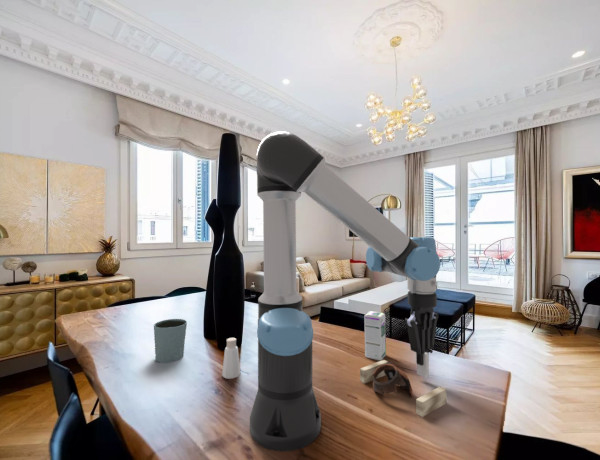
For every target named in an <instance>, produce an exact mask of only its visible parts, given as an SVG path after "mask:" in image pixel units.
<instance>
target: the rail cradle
mask: <svg viewBox="0 0 600 460" xmlns="http://www.w3.org/2000/svg"><path fill="white" fill-rule="evenodd" d="M388 362H389V361H388V360H385V359H382V360H381V361H380V360H378V361H377V362H373V363H371V364H369V365H366V366H363V367H360V369H359V378H360V379H359V381H360V383H362V384H366V383H369V382H373V381H372V379H373V378H374V376H373V372H374V371H375V370H376V369H377V368H378V367H379V366H381V365H383V364H386V363H388ZM384 376H386V375H385V373H384V370H383V371H382V372H380V373H379V374H378V376H377V377H376V380H377V379H380V378H382V377H384ZM415 404H416V405H415V406H416V407H415V409H416V410H415V413H416V415H418V416H419V417H421V418H424V417H425V416H427V415H429V414H430V413H432V412H434V411H436V410H437V409H440V408H441V407H442V406H445V405H446V404H447V388H445V387H443V386H442V385H439V386H438V387H437V388H434V389H432V390H430V391H429V392H427V393H425V394H424V395H421V396H420V397H418V398H416V399H415Z"/></svg>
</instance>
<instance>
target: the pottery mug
mask: <svg viewBox="0 0 600 460" xmlns="http://www.w3.org/2000/svg"><path fill="white" fill-rule="evenodd" d="M383 370H384V373H385V376H386V377H387V380H388V381H386V382H379V381H377V379H376V377H377V376H378V374H379V373H380V372H382V371H383ZM373 376H374V378H373V379H372V381H371V382H372V389H373V392H374V393H378V394H381V395H384V394H385V395H388V394H391V393H394V394H396V395H398V391H397V386H399V388H401V389H404V390H407V391H409V393H410V398H412V399H413V398H414V391H413V387H412V385H411V381H410V380H409V378H408V375H406V373H405V372H404V370H401V369H400V368H398V367H397V366H396V365H395V364H394V363H393V362H391V361H388V363H386V364H383V365H381V366H379V367H378V368H377V369H376V370H375V371H374V372H373Z"/></svg>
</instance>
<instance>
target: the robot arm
mask: <svg viewBox="0 0 600 460" xmlns="http://www.w3.org/2000/svg"><path fill="white" fill-rule="evenodd" d="M256 180H257V181H256V187H257V188H256V192H257V193H256V194H257V195H256V196H258V197H259V199H260V200H262V208H263V209H262V213H263V214H262V215H263V217H262V218H263V220H262V221H263V222H262V223H263V229H262V230H263V231H262V232H263V292H262V294H261V295H260V296H259V297H258V299H257V303H258V304H257V307H258V308H257V309H258V310H257V313H258V314H257V315H258V316H257V318H258V319H257V329H256V330H257V331H256V333H257V335H256V336H257V380H258V381H257V384H258V385H257V393H256V394H255V398H254V401H253V406H252V409H251V412H250V415H249V434H250V436H251V438H252V440H254V442H255V443H257V445H259V446H261V447H262V448H263V449H264V448H265V449H268V450H270V451H275V452H292V451H297V450H300V449H304V448H305V447H308V446H309V445H311V444H312V443H313V442H314V441H316V440H317V438H318V436H319V435H320V432H321V428H322V420H321V419H322V418H321V417H322V415H321V411H320V408H319V405H318V401H317V399H316V394H315V391H314V388H313V338H314V328H313V323H312V319H311V317H310V315H309V314H307V313H306V312H305V311H303V296H302V295H301V294H300V293H299V292H298V291H297V232H296V231H297V230H296V229H297V224H296V221H297V218H296V217H297V216H296V215H297V211H296V209H297V208H296V204H297V203H296V202H297V200H298V199H299V198H300V197H301V196H302V193H305V194H306V195H307V196H308V197H310V198H311V200H313V201H314V202H316V204H318V205H319V206H320V207H321V208H323V209H324V210H325V211H326V212H327V213H329V214H330V215H331V216H333V217H334V219H336V220H337V221H338V222H339V223H341V224H342V225H343V226H344V227H346V229H348V230H349V231H350V232H352V233H353V235H355V236H356V237H358V238H359V239H360V240H361V241H362V242H363V243H364V244H366V245H367V246H368V248H367V249H366V253H365V263H366V266H367V269H368V270H369V271H371V272H379V273H382V272H383V273H384V272H385V273H386V272H387V273H391V274H395V275H398V276H402V277H405V278H407V289H408V292H407V303H408V305H409V306H410V307H411V309H410V312H409V313H410V317H409V318H407V317H405V318H404V324H405V325H406V329H407V335H408V340H409V347H410V351H412V352H414V353H415V356H416V357H415V358H416V360H415V362H416V375H418V376H420V377H422V378H425V379H427V378H429V375H430V372H429V367H430V365H429V364H430V363H429V362H430V361H429V359H430V358H429V356H430V354H433V351H434V350H433V349H434V347H435V342H436V341H435V340H436V332H437V322H438V320H439V313H437V312H435V311H434V308H436V307H437V304H438V303H437V302H438V301H437V300H438V299H437V298H438V297H437V293H436V291H437V285H438V282H437V275H438V273H439V271H440V270H441V259H440V257H439V254H438V252H437V244H436V239H435V238H434V237H427V236H421V237H419V236H417V237H416V236H415V237H414V236H413V237H411V236H408V235H407V234H406V233H405V232H404V231H402V230H401V229H400V228H399V227H398V226H397V225H395V224H394V223H393V222H392V221H391V220H389V218H387V217H386V216H385V215H384V214H383V213H381V212H380V211H379V210H378V209H377V208H375V206H373V205H372V204H371V203H370V202H369V201H368V200H366V198H364V197H363V196H362V195H360V193H358V192H357V191H356V190H355V189H354V188H353V187H352V186H350V185H349V184H348V183H347V182H346V181H345V180H344V179H342V178H341V177H340V176H339V175H337V174H336V173H335V172H334V171H333V170H332V169H331V168H330V167H328V166H327V164H326V159H325V156H323V155H322V154H321V153H319V152H318V151H317V150H316V149H315V148H314V147H312V146H311V145H310V144H309V143H308V142H307V141H305V140H304V139H303V138H301V137H299V136H298V135H296V134H294V133H291V132H288V131H275V132H273V133H269V134H268V135H267V136H265V137H264V138H263V139H262V140H261V142H260V143H259V146H258V148H257V151H256ZM429 353H430V354H429Z"/></svg>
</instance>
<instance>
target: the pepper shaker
mask: <svg viewBox="0 0 600 460" xmlns="http://www.w3.org/2000/svg"><path fill="white" fill-rule="evenodd" d="M221 375H222V376H221V377H223V378H225V379H235V378H238V377H240V375H241V364H240V355H239V347H238V346H237V338H235V337H229V338H226V347H225V348H224V355H223V363H222V372H221Z"/></svg>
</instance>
